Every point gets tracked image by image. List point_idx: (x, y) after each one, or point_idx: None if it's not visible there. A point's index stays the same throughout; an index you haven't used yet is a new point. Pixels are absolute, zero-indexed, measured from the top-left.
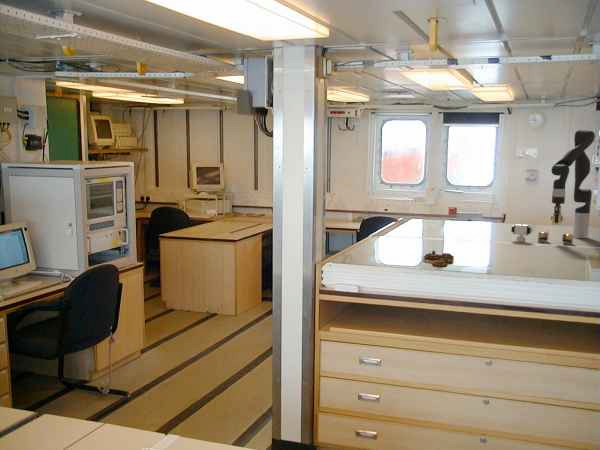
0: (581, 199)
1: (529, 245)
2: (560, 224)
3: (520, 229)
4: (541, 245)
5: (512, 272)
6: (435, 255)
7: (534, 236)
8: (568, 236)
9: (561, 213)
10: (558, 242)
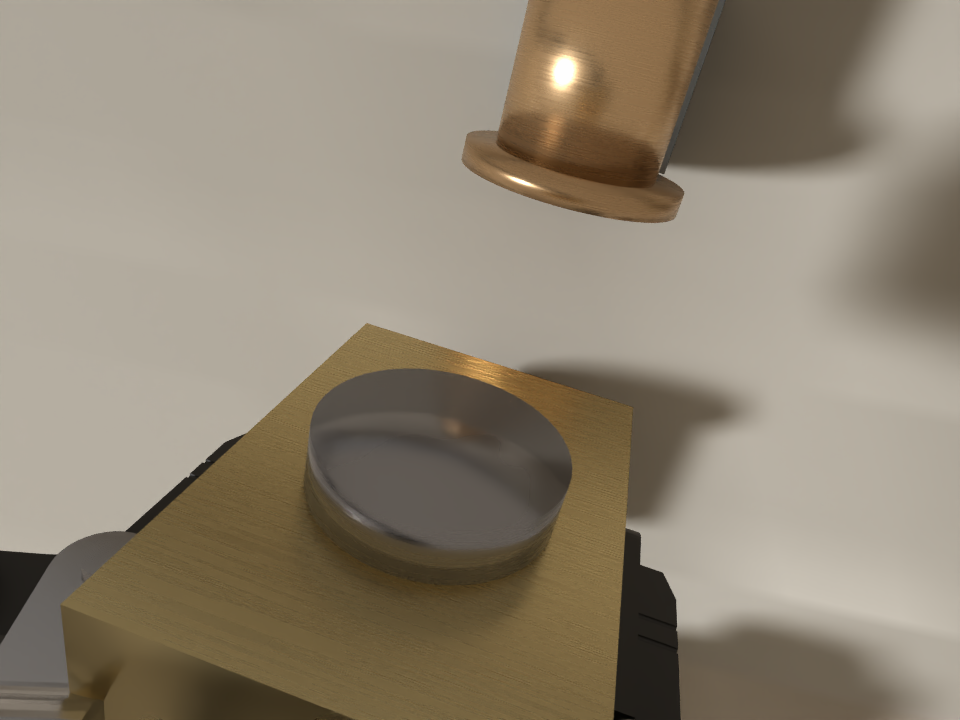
0: None
1: (921, 698)
2: (584, 397)
3: None
4: (894, 550)
5: None
6: None
7: (21, 439)
8: (683, 72)
9: (181, 663)
10: (451, 212)
